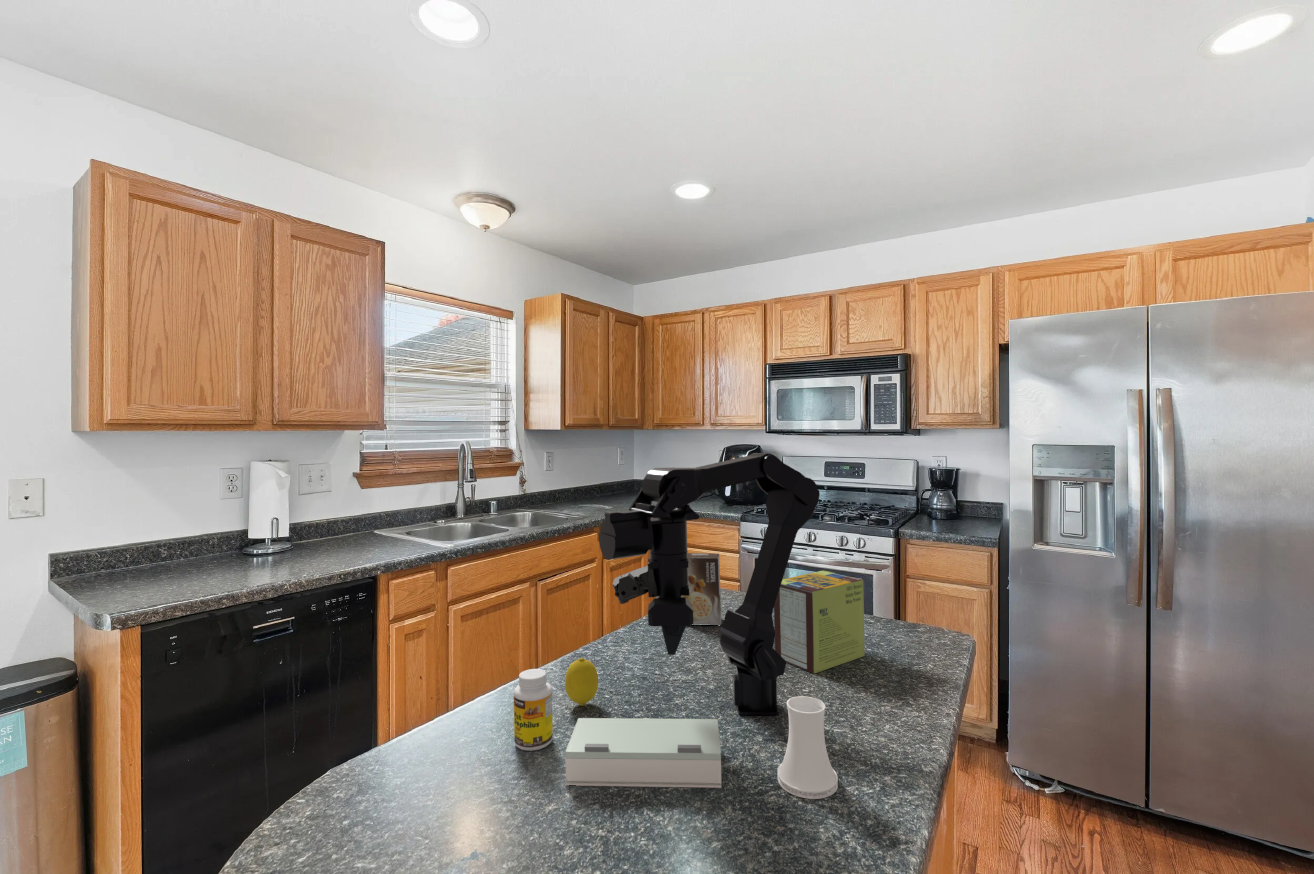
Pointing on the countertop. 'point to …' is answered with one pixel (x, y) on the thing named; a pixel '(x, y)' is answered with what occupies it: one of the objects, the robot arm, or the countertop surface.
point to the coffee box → (704, 588)
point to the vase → (807, 752)
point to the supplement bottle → (533, 711)
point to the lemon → (581, 681)
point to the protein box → (819, 620)
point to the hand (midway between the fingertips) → (671, 654)
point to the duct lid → (645, 739)
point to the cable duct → (643, 772)
